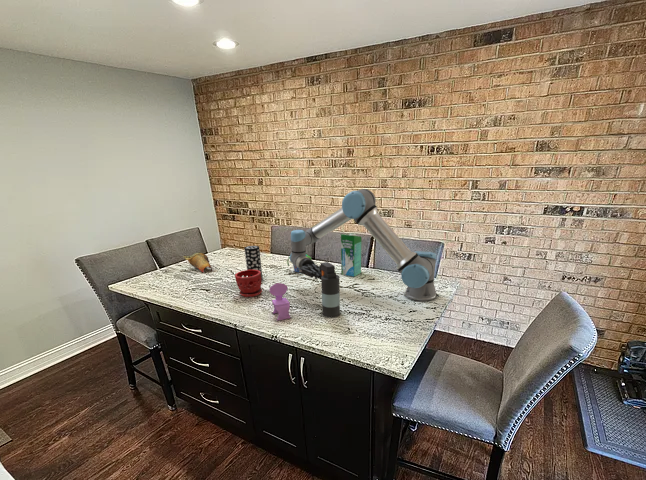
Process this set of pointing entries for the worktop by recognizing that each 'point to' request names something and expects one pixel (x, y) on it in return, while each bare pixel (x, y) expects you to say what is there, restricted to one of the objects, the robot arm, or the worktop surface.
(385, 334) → the worktop surface
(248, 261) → the white-spotted black cylinder
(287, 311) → the toy chair
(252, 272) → the plant pot
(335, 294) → the spray bottle
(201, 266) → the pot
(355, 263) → the milk carton
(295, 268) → the snack cup
